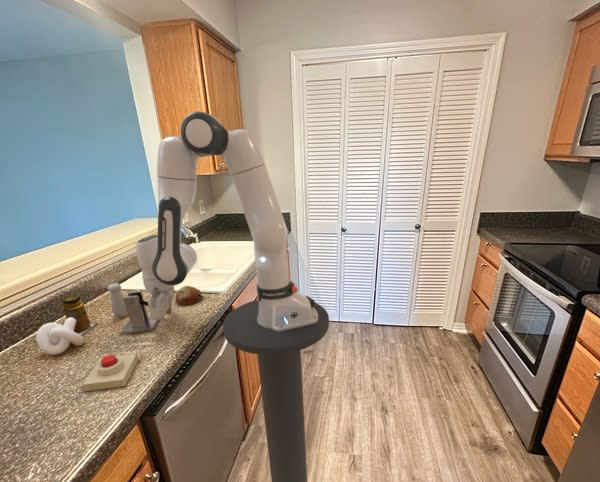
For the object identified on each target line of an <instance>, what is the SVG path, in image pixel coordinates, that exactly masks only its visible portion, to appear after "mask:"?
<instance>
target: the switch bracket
mask: <svg viewBox="0 0 600 482" xmlns="http://www.w3.org/2000/svg"><path fill="white" fill-rule="evenodd" d="M126 294H127V296H123V297H124V302H125V305H126V309H127V312H128V319H129V320H128V322H127V323H126V325H125V326H124V328H123V329H122V331H121V332H122V335H127V334H136V333H137V334H139V333H145V332H154V330H155V328H156V326H157V325H158V322H159V320H152V318H151V317H149V315H148V311H147V306H146V305H143V304H140V301H139V299H141V300H144V301H145V299H144V295H143V292H142V290H136V291H128V292H127V293H126ZM131 294H135V295H138V296H140V298H138V296H130V295H131Z"/></svg>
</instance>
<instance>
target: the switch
mask: <svg viewBox="0 0 600 482" xmlns="http://www.w3.org/2000/svg"><path fill="white" fill-rule="evenodd" d="M130 296H138V295H135V294H131V295H130ZM138 298H140V296H138ZM139 301H140V304H143V305H145V306H146V307H149V306H148V300H145V299H144V300H141V299H139Z"/></svg>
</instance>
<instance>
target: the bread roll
mask: <svg viewBox="0 0 600 482" xmlns="http://www.w3.org/2000/svg"><path fill="white" fill-rule="evenodd" d="M202 294H203V292H202V291H201V290H200V289H198V288H196V287H194V286H192V285H191V286H190V285H184V286H182V287H180V288H179V289H178V290H177V292H176V293H175V296H174V297H175V303H176V304H177V305H180V306H190V305H194V304H197V303H199V302H200V301H201V299H202V298H203V297H204V296H203V295H202Z"/></svg>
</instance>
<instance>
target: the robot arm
mask: <svg viewBox="0 0 600 482" xmlns="http://www.w3.org/2000/svg"><path fill="white" fill-rule="evenodd" d="M211 156H220V157H221V158H222V160H224V162H225V164H226V166H227V169H228V172H229V174H230V177H231V180H232V182H233V185H234V188H235V191H236V193H237V196H238V199H239V202H240V205H241V207H242V211H243V213H244V217H245V221H246V223H247V225H248V229H249V231H250V234H251V238H252V240H253V241H252V242H253V250H254V263H255V272H256V273H255V274H256V282H257V284H256V296H257V297H256V298H257V300H259V309H258V317H257V323H258V324H259V325H261V326H263V327H266V328H270V329H272V330H274V331H276V332H280V331H284V330H289V329H293V328H298V327H302V326H307V325H311V324H315V323H317V321H318V313H317V311H316V310H315V308H314V307H313V306H315V303H316V301H315V299H313V298H312V297H310V296H308V295H304V294H302V293H301V292H299V290H298V289H299V288H298V287H297V285H296V283H294V281H293V280H290V277H289V275H290V273H289V261H288V260H289V259H288V253H287V242H286V241H287V239H288V233H289V232H288V228H287V224H286V222H285V219H284V216H283V212H282V209H281V207H280V204H279V201H278V198H277V196H276V192H275V189H274V186H273V183H272V179H271V177H270V174H269V171H268V168H267V165H266V162H265V160H264V156H263V154H262V151H261V149H260V147H259V145H258V142H257V141H256V139H255V137H254V135H253V134H252V132H250V131H249V130H247V129H243V128H236V129H232V130H228V129H226V128H225V126H224V125H223V123H222V121H220V120H219V119H218V118H217V117H215V116H214V115H212V114H210V113H207V112H204V111H193V112H190V113H189V114H188V115H186V116H185V117H184V119H183V120H182V122H181V124H180V135H179V136H176V135H172V136H171V135H170V136H167V137H164V138H163V139H162V140H160V141H159V145H158V149H157V160H156V172H157V173H156V175H157V178H156V179H157V193H158V194H157V195H158V196H157V197H158V212H157V234H153V235H149V236H145V237H143V238H141V239H139V240H138V241H137V243H135V244H136V245H135V250H136V256H137V261H138V265H139V267H140V269H141V272H142V273H141V274H142V275H141V276H142V277H141V278H142V281H143V285H144V289H145V291H146V292H147V293H150V295H149V297H148V298H147V302H148V306H147V307H148V310H149V316H150V318H152V320H158V322H160V323H159V324H160V326H163V327H164V326H166V325H167V324H168V321H167V318H166V315H171V314H172V313H173V308H172V301H173V300H174V297H175V286H177V285H180V284H181V283H183V282H184V281H185V279H187V278H186V277H187V275H188V274H189V273H190V272H191V270H192V269H193V267H194V266H195V265H196V263H197V261H198V260H197V259H198V257H197V252H196V251H195V249H194V248H193V247H192V246H191V245H190V244H187V243H183V242H182V225H183V221H184V218H185V216H186V214H187V213H188V211H189V210H190V208H191V206H192V205H194V203H195V199H196V193H197V183H198V182H197V181H198V179H197V174H198V173H197V168H198V167H197V166H198V162H199V160H200V159H201V158H203V157H204V158H205V157H211Z"/></svg>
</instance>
